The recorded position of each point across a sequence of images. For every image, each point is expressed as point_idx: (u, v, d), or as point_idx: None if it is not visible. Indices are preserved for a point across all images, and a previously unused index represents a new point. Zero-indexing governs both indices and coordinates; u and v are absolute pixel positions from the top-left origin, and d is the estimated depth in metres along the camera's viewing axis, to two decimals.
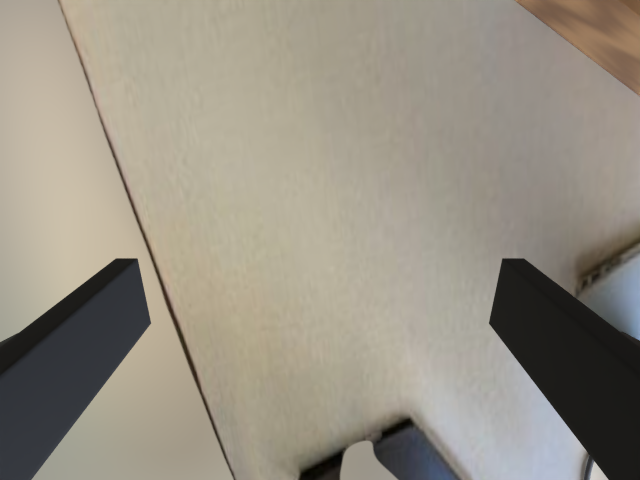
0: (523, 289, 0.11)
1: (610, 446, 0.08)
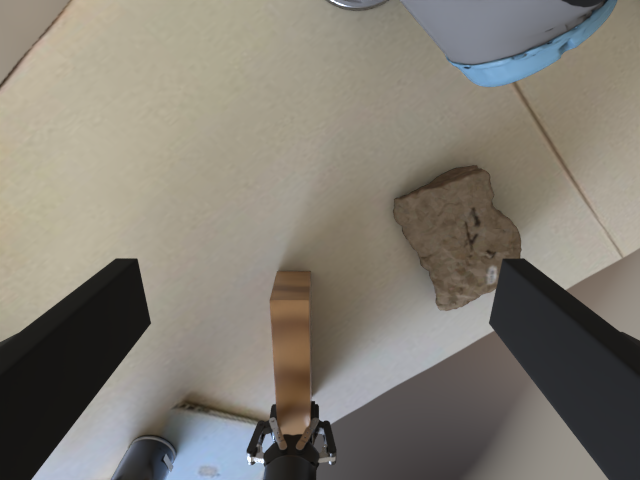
0: (523, 289, 0.11)
1: (610, 446, 0.08)
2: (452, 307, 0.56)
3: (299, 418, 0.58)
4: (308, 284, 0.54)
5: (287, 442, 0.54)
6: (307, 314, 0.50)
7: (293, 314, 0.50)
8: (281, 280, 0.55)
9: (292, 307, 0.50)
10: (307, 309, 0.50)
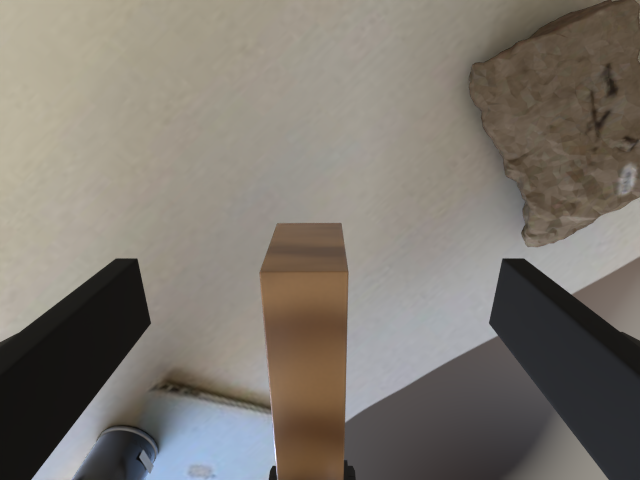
0: (523, 288, 0.11)
1: (610, 446, 0.08)
2: (549, 240, 0.38)
3: None
4: (341, 243, 0.26)
5: None
6: (343, 304, 0.23)
7: (311, 303, 0.23)
8: (285, 237, 0.27)
9: (310, 289, 0.22)
10: (343, 293, 0.22)
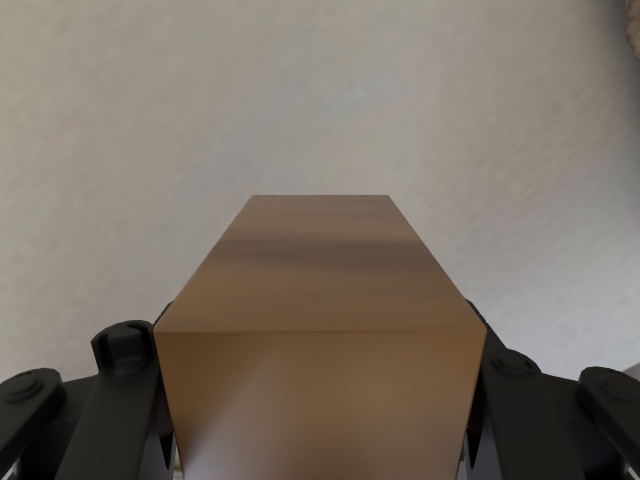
0: None
1: None
2: None
3: None
4: (410, 233, 0.10)
5: None
6: (453, 435, 0.07)
7: (343, 432, 0.07)
8: (266, 220, 0.11)
9: (343, 387, 0.06)
10: (460, 401, 0.06)
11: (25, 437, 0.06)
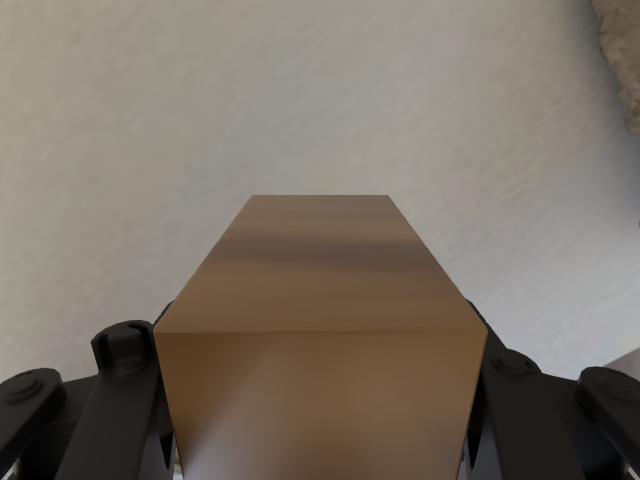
0: None
1: None
2: None
3: None
4: (410, 233, 0.10)
5: None
6: (454, 435, 0.07)
7: (344, 433, 0.07)
8: (266, 220, 0.11)
9: (344, 388, 0.06)
10: (461, 401, 0.06)
11: (25, 437, 0.06)
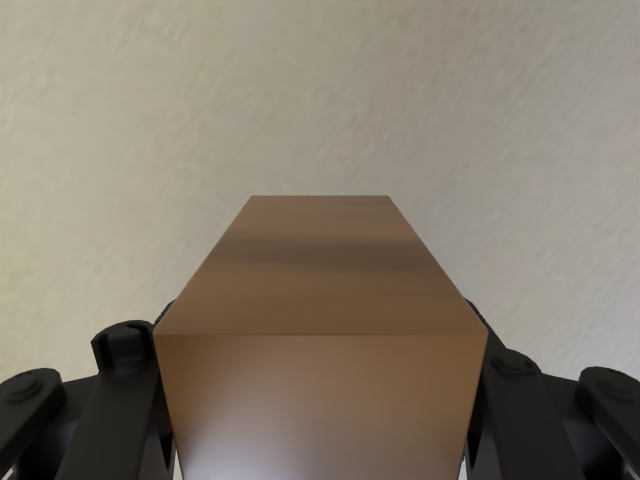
0: None
1: None
2: None
3: None
4: (410, 234, 0.10)
5: None
6: (454, 437, 0.07)
7: (344, 434, 0.07)
8: (266, 221, 0.11)
9: (344, 390, 0.06)
10: (461, 403, 0.06)
11: (25, 437, 0.06)
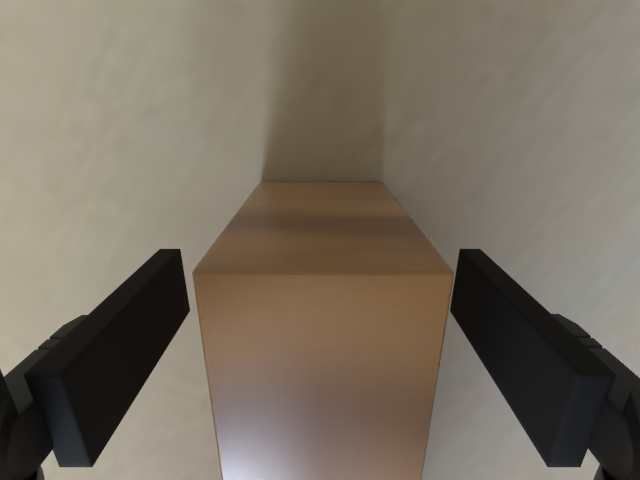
0: (474, 276, 0.12)
1: (534, 414, 0.09)
2: None
3: None
4: (399, 210, 0.12)
5: None
6: (429, 363, 0.08)
7: (341, 360, 0.08)
8: (275, 200, 0.13)
9: (341, 321, 0.08)
10: (434, 333, 0.08)
11: None
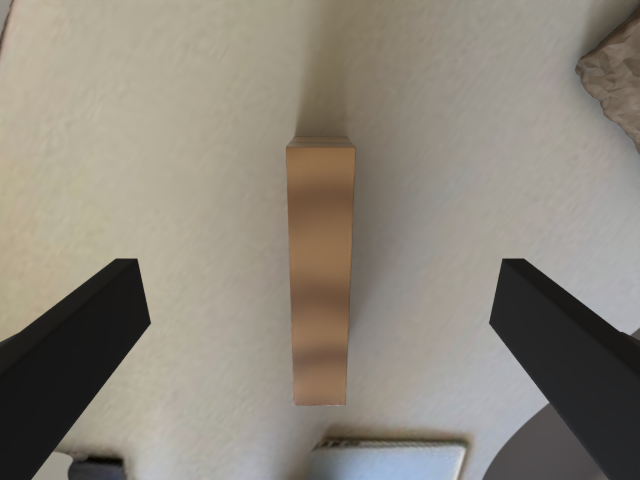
0: (523, 289, 0.11)
1: (610, 446, 0.08)
2: None
3: (328, 371, 0.36)
4: (348, 141, 0.32)
5: None
6: (351, 177, 0.29)
7: (326, 176, 0.29)
8: (303, 140, 0.33)
9: (325, 162, 0.28)
10: (351, 166, 0.28)
11: None
